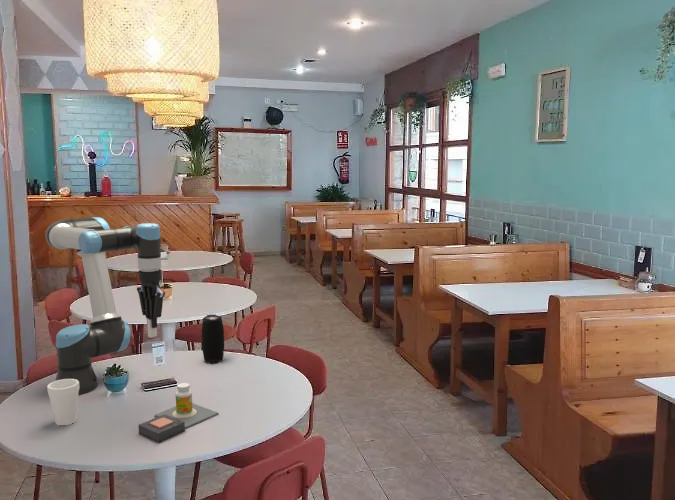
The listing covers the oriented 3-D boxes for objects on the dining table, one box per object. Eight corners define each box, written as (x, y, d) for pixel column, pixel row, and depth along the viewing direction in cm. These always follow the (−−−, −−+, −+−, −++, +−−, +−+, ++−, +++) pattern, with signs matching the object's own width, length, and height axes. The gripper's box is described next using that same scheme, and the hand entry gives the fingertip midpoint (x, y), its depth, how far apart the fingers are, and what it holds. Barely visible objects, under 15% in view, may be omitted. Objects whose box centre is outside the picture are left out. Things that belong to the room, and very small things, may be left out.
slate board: (154, 416, 203) (154, 414, 203) (187, 403, 214) (187, 401, 214) (185, 429, 194) (185, 426, 193) (218, 414, 205) (218, 412, 205)
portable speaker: (228, 360, 259) (227, 316, 256) (210, 366, 252) (209, 320, 249) (216, 356, 265) (215, 312, 262) (198, 361, 258) (196, 317, 255)
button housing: (138, 433, 190) (138, 424, 190) (165, 422, 198) (164, 414, 198) (158, 442, 184) (158, 433, 184) (184, 430, 192) (184, 422, 192)
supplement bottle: (173, 415, 202) (172, 387, 201) (179, 408, 207) (178, 381, 206) (189, 416, 202) (188, 388, 200) (194, 409, 207) (193, 382, 205)
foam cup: (69, 429, 194) (66, 390, 192) (43, 426, 196) (40, 388, 194) (87, 416, 203) (84, 379, 201) (62, 414, 205) (60, 377, 203)
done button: (149, 428, 191) (149, 422, 190) (163, 423, 195) (163, 417, 194) (160, 433, 187) (159, 427, 187) (173, 427, 192) (173, 421, 191)
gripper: (171, 270, 204) (173, 337, 208) (147, 265, 212) (150, 330, 216) (152, 273, 198) (154, 342, 202) (129, 268, 206) (131, 335, 210)
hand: (152, 336), depth 209 cm, fingers closed
